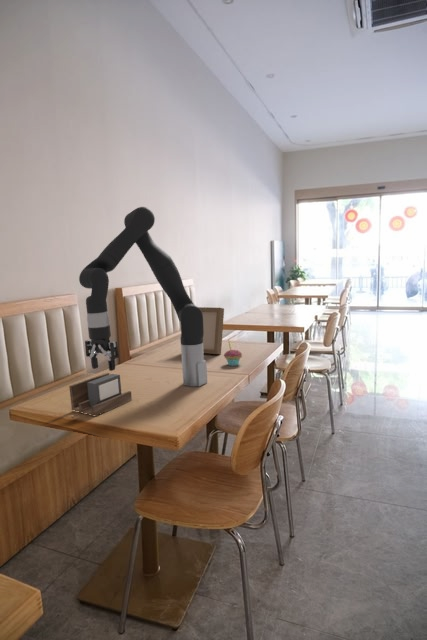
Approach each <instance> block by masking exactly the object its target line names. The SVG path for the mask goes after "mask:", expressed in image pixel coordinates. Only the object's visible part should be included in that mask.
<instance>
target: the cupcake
mask: <svg viewBox="0 0 427 640" xmlns="http://www.w3.org/2000/svg"><path fill="white" fill-rule="evenodd" d="M228 346H229V350H227V351H226V352H225V353H224V354H223V357H224V359H226V362H227V364H228V366H232V367H234V366H235V367H236V366H239V364H240V359H241V358H242V357H243V354H242V353H243V352H241V351H240V350H236V349H232V346H231V342H230V340H228Z"/></svg>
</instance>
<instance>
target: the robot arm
mask: <svg viewBox="0 0 427 640" xmlns="http://www.w3.org/2000/svg"><path fill="white" fill-rule="evenodd" d="M155 219H156V218H155V214H154V213H153V211H152V210H151V209H150V208H148V207H146V206H138V207H137V208H135V209H133V210H132V211H131V212H129V213H127V214H126V216H125V217H124V220H123V222H124V227H125V228H124V229H123V230H122V231H121V232H120V233H119V234H118V235H116V236H115V237H114V238H113V239H112V240H111V241H110V243H108V244H107V246H106V247H105V248H104V249H103V250H102V251H101V252H100V254H99V255H98V256H97V257H96V258H95V259H94V260H92V261H91V262H90V263H89V264H87V265H86V266H85V267H84V268H83V269H82V270H81V271H80V273H79V277H78V282H79V284H80V285H81V287H83V288H85V289H89V290H91V293H90V295H89V296H87V297H86V298H85V306H86V317H87V318H86V319H87V320H86V321H87V330H88V338H89V339H88V340H84V347H85V356H86V357H87V358H89V359H90V363H91V368H92V369H93V370H95V369H98V368H99V362H98V355H99V354H103V356H104V357H106V359H107V360H108V361H107V362H108V371H111V372H112V371H115V370H116V361H115V360H116V359H118V358H119V357H120V354H119V347H118V341H116V340H115V341H111V340H110V338H111V337H112V334H111V326H110V325H111V324H110V317H109V312H108V304H107V302H108V301H107V299H108V298H107V297H108V294H109V293H108V292H109V283H110V279H109V276H108V273H110V272H112V271H114V270H115V269H116V267H117V266H118V264H120V262H121V261H122V260H123V259H124V257H125V256H126V255H127V254H128V252H129V250H131V248H132V247H133V245H136V246H137V247H138V249H139V250H140V252H141V254H142V255H143V257H144V258H145V261H146V262H147V264H148V266H149V267H150V270H151V271H152V273H153V275H154V277H155V279H156V281H157V282H158V284H159V286H160V287H161V288H162V290H163V291H164V293H165V294H166V295H167V297H168V298H169V300H170V301H171V304H172V306H173V308H174V311H175V314H176V316H177V318H178V321H179V322H180V339H179V340H180V352H181V366H182V367H181V368H182V381H183V382H182V383H183V384H182V385H183V386H187V387H201V386H203V385H204V384H207V383H208V368H207V366H208V365H207V360H206V359H205V355H204V354H205V353H204V351H203V336H204V328H203V314H202V311H201V310H200V308H198V307H199V306H197V305H195V304H194V301H192V299H191V298H190V296H189V295H188V293H187V291H186V288H185V286H184V282H183V279H182V277H181V275H180V272H179V269H178V267H177V265H176V264H175V262H174V260H173V259H172V256H170V255H169V254H168V253H167V252H166V251H165V250H164V249H162V248H161V247H160V246H159V245H157V244H156V243H155V241H154V240H153V238H152V236H151V235H150V233H149V230H150V229H152V228H153V226H154V225H155Z"/></svg>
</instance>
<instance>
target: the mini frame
mask: <svg viewBox="0 0 427 640" xmlns="http://www.w3.org/2000/svg"><path fill="white" fill-rule="evenodd" d="M121 384H122V383H121V374H115V373H109V375H107V376H104V377H102V378H99V379H96V380H93V381H90V382H87V386H88V396H89V406H90V407H92V406H94V405H97V404H99V403H101V402H104V401H106V400H108V399H111V398H113V397H116V396H118V395H120V394H123V393H122V385H121Z"/></svg>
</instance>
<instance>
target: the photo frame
mask: <svg viewBox="0 0 427 640" xmlns="http://www.w3.org/2000/svg"><path fill="white" fill-rule="evenodd" d="M197 307H198V308H200V310H201V311H202V314H203V328H204V336H203V351H204V354H211V355H221V354H222V345H223V344H222V343H223V329H224V316H225V315H224V314H225V308H223V307H206V306H205V307H202V306H201V307H199V306H197Z"/></svg>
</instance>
